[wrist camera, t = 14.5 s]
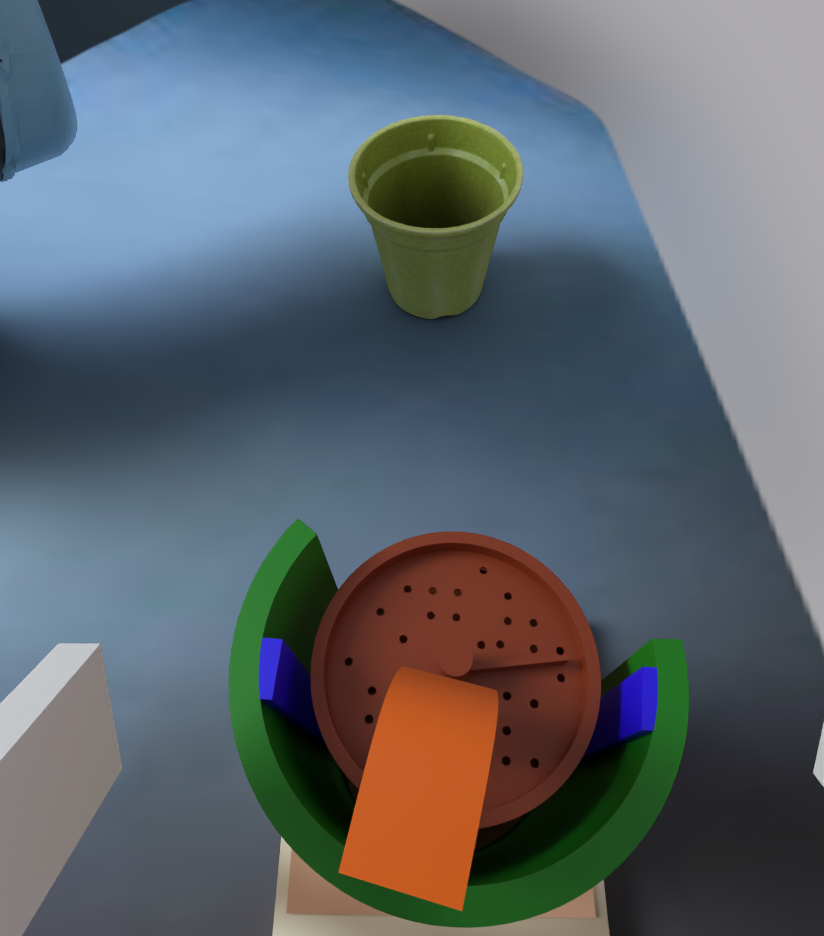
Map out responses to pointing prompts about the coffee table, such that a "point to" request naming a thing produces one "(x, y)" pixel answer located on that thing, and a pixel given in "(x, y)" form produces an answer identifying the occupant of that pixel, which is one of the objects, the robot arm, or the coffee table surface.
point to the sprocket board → (374, 932)
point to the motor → (448, 727)
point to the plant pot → (435, 206)
